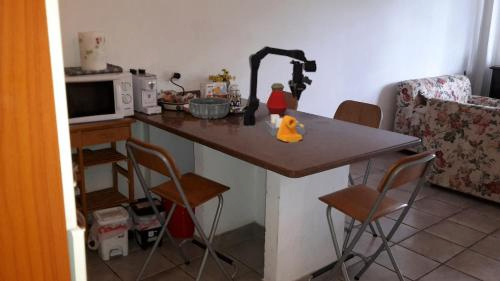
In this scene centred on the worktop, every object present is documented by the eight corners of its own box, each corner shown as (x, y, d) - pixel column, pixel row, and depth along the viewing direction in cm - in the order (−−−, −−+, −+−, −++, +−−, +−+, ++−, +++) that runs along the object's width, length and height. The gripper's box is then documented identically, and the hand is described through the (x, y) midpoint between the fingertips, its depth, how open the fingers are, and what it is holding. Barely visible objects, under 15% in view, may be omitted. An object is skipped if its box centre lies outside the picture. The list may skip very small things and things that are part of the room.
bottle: (288, 118, 285) (289, 85, 280) (266, 117, 285) (267, 85, 280) (286, 113, 300) (288, 82, 295) (266, 112, 300) (267, 81, 295)
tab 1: (271, 126, 251) (272, 115, 249) (270, 125, 254) (270, 114, 252) (278, 126, 252) (279, 115, 250) (277, 125, 254) (278, 114, 253)
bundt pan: (198, 122, 266) (198, 105, 263) (181, 114, 288) (181, 98, 285) (238, 118, 279) (238, 102, 276) (219, 111, 301) (219, 96, 298)
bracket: (284, 143, 225) (285, 119, 222) (276, 139, 231) (277, 116, 228) (302, 140, 230) (304, 117, 227) (294, 137, 236) (295, 114, 233)
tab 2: (276, 130, 241) (276, 119, 240) (274, 129, 244) (275, 118, 243) (283, 130, 242) (284, 119, 241) (282, 129, 245) (282, 118, 243)
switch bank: (271, 135, 239) (271, 127, 238) (264, 127, 256) (264, 119, 255) (304, 135, 242) (305, 126, 241) (295, 127, 259) (295, 119, 258)
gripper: (316, 74, 254) (314, 102, 258) (307, 70, 272) (305, 96, 276) (296, 73, 252) (294, 102, 256) (288, 70, 270) (287, 96, 274)
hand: (296, 99), depth 265 cm, fingers open, 9 cm apart
